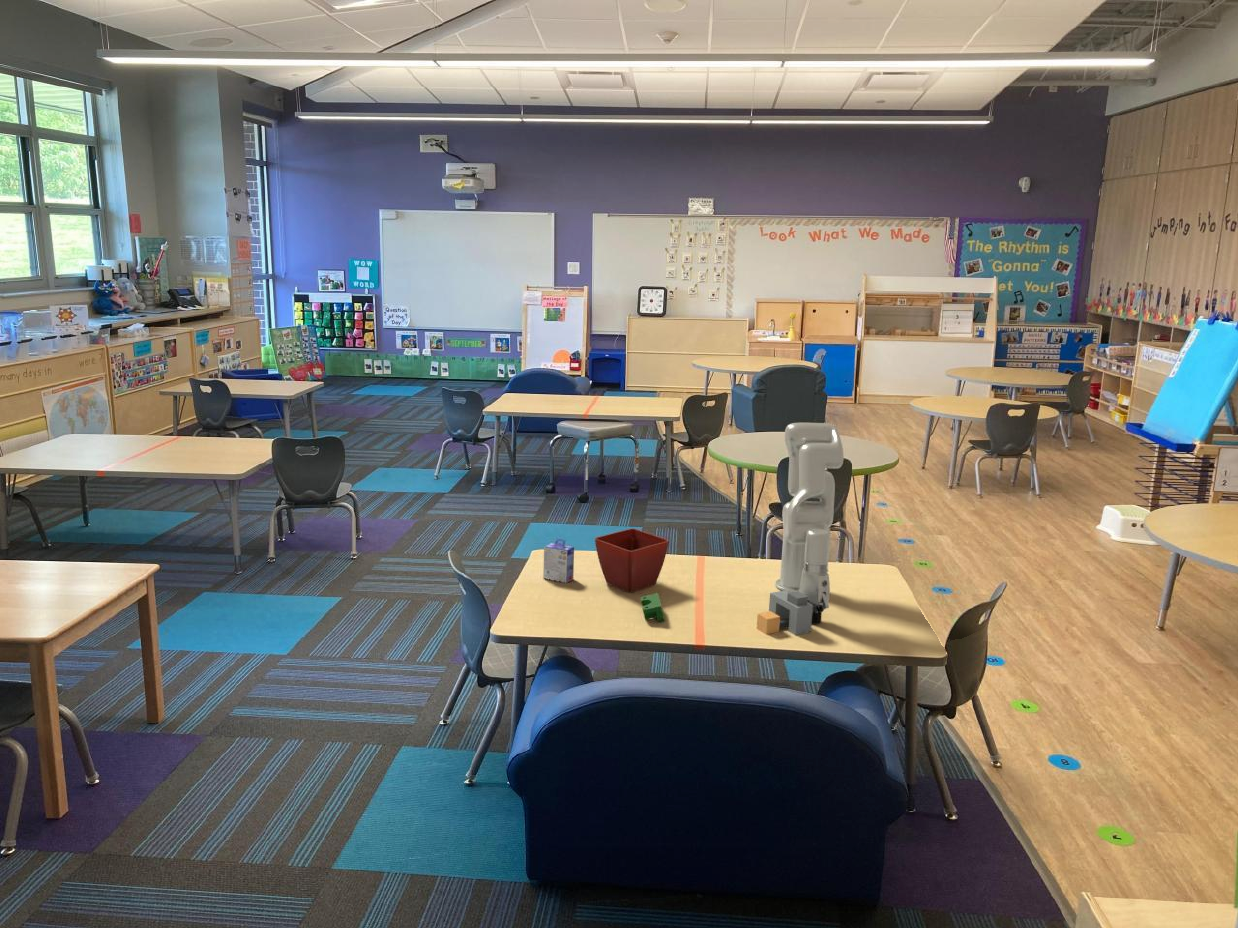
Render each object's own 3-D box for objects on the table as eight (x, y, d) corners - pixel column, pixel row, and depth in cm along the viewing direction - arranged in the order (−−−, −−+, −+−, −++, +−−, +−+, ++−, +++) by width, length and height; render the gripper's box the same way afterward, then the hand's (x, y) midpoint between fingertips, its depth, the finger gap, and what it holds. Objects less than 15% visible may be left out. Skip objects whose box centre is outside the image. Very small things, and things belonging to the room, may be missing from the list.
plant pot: (592, 582, 331) (593, 537, 327) (631, 571, 343) (633, 527, 339) (628, 598, 317) (630, 551, 313) (668, 585, 329) (670, 540, 326)
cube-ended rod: (811, 617, 305) (812, 599, 304) (821, 622, 301) (822, 605, 300) (756, 628, 295) (757, 610, 294) (766, 634, 291) (767, 616, 289)
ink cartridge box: (574, 578, 333) (575, 540, 330) (567, 583, 329) (567, 544, 325) (550, 574, 338) (550, 536, 334) (542, 578, 333) (543, 540, 329)
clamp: (646, 624, 307) (640, 597, 308) (664, 620, 307) (658, 593, 308) (646, 624, 295) (639, 596, 296) (664, 620, 295) (658, 592, 296)
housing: (783, 616, 305) (785, 583, 303) (810, 631, 293) (813, 597, 291) (768, 618, 303) (770, 585, 300) (795, 635, 291) (798, 600, 288)
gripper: (842, 573, 292) (837, 628, 297) (807, 557, 307) (803, 609, 311) (823, 577, 289) (819, 632, 293) (789, 560, 303) (785, 613, 308)
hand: (811, 619), depth 302 cm, fingers open, 4 cm apart
